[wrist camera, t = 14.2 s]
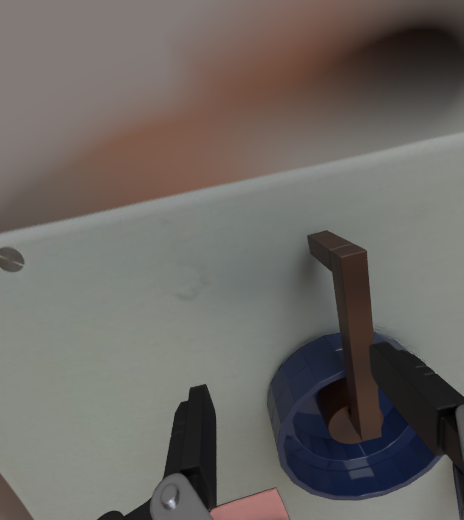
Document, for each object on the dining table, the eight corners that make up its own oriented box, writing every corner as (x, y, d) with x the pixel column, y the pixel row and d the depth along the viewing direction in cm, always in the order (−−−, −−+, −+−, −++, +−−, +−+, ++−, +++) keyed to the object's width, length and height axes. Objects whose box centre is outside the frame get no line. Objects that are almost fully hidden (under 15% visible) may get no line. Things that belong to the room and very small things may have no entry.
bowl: (239, 373, 25) (244, 418, 20) (384, 299, 23) (427, 329, 18) (305, 466, 29) (321, 521, 24) (431, 409, 27) (476, 457, 22)
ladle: (284, 241, 19) (309, 265, 14) (349, 223, 19) (397, 242, 14) (320, 422, 26) (345, 482, 21) (368, 410, 26) (406, 468, 21)
